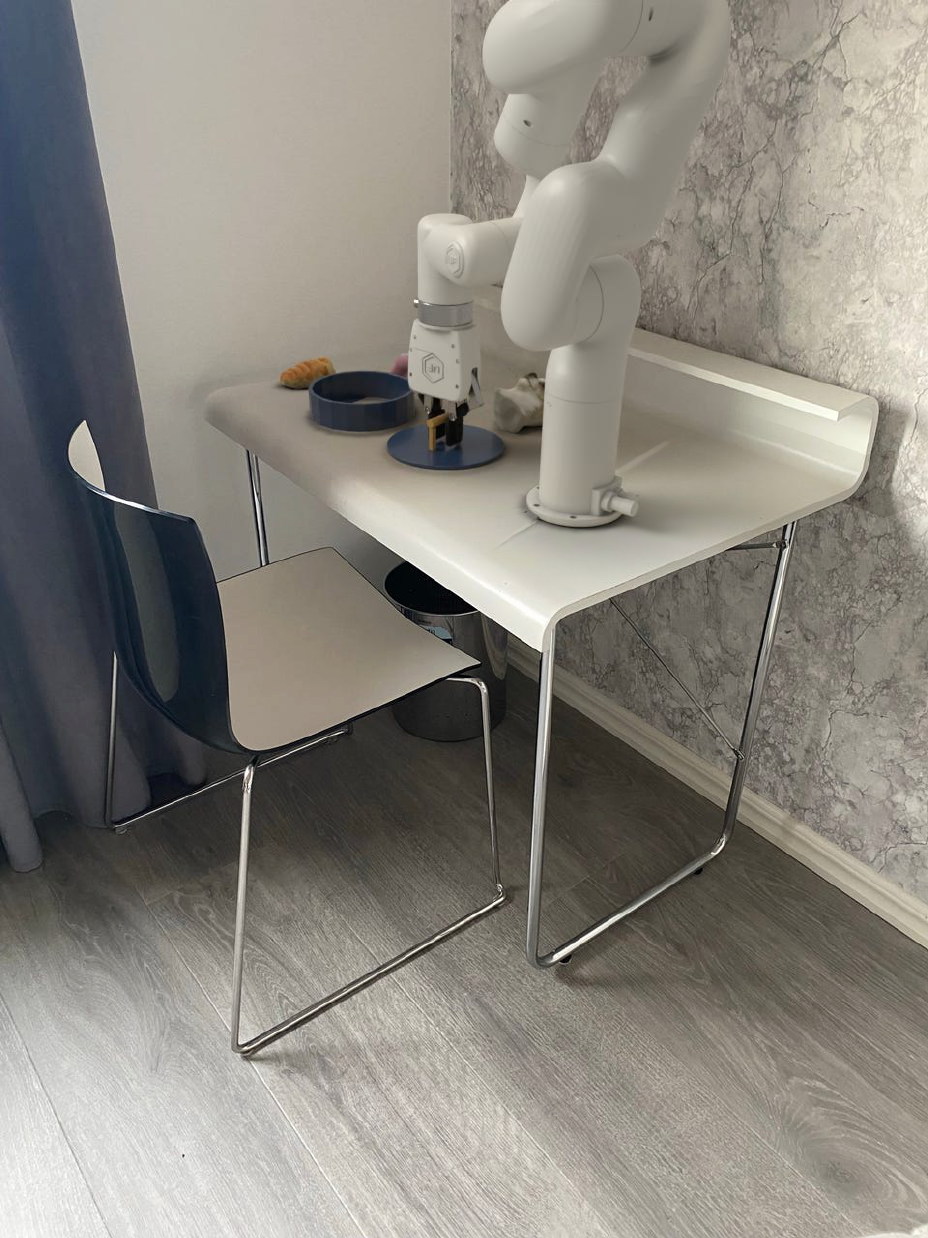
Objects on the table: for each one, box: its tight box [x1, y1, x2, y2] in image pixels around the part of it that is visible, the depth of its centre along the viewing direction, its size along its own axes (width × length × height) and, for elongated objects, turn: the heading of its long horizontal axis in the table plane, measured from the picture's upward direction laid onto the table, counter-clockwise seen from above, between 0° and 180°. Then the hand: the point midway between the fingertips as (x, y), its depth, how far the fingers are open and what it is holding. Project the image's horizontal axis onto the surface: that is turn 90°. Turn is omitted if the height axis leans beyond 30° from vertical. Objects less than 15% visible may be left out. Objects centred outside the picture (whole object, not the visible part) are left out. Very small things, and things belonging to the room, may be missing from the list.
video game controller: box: [387, 352, 409, 379], centre depth 168 cm, size 10×5×7 cm, turn 58°
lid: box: [386, 411, 505, 471], centre depth 144 cm, size 17×17×6 cm
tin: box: [308, 370, 416, 433], centre depth 156 cm, size 16×16×5 cm
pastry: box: [279, 356, 337, 390], centre depth 170 cm, size 9×7×4 cm
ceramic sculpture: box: [492, 372, 545, 434], centre depth 152 cm, size 11×9×15 cm
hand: (445, 439), depth 145 cm, fingers closed
